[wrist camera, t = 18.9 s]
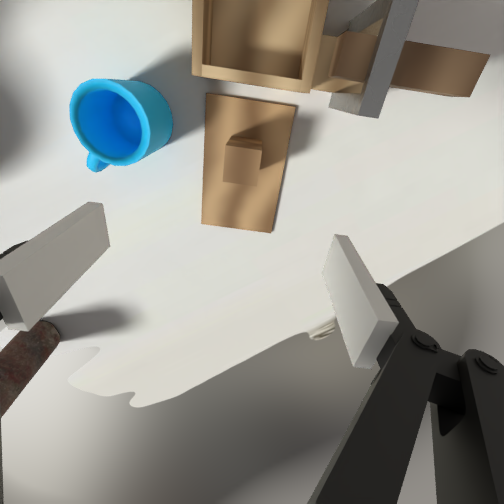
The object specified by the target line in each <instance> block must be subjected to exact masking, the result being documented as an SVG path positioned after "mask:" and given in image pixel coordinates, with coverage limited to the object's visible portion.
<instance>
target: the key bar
mask: <svg viewBox="0 0 504 504" xmlns="http://www.w3.org/2000/svg"><path fill="white" fill-rule="evenodd" d="M377 37H378V36H375V35H369V34H363V33H357V32H351V31H345V32H344V33H342V34H341V35H340V36H338V37H337V40H336V45H335V49H334V53H333V57H332V61H331V66H330V70H329V74H328V77H330V78H336V79H343V80H349V81H355V82H361V83H364V81H365V77H366V74H367V71H368V67H369V64H370V61H371V57H372V54H373V51H374V47H375V44H376V41H377ZM489 57H490V55H489V54H483V53H477V52H471V51H465V50H459V49H453V48H447V47H441V46H435V45H429V44H423V43H417V42H411V41H405V42H404V45H403V48H402V51H401V54H400V57H399V60H398V62H397V65H396V68H395V71H394V74H393V77H392V80H391V83H390V86H389V87H393V88H399V89H405V90H412V91H418V92H424V93H431V94H437V95H443V96H451V97H470V95H471V93H472V91H473V89H474V87H475V85H476V83H477V81H478V79H479V77H480V75H481V73H482V71H483V69H484V67H485V65H486V63H487V61H488V59H489Z"/></svg>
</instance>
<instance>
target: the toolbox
mask: <svg viewBox="0 0 504 504" xmlns="http://www.w3.org/2000/svg"><path fill="white" fill-rule="evenodd" d="M328 4H329V0H192V75H195V76H199V77H205V78H211V79H217V80H224V81H230V82H237V83H243V84H249V85H256V86H262V87H269V88H275V89H281V90H288V91H294V92H301V93H310V89H313V90H320V91H326V92H332V93H357V94H361V91H362V87H363V84H364V83H361V82H355V81H349V80H343V79H336V78H330V77H328V74H329V70H330V66H331V61H332V57H333V53H334V49H335V45H336V40H337V37H334V36H328V35H322V32H323V27H324V23H325V18H326V13H327V9H328Z"/></svg>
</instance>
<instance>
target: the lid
mask: <svg viewBox="0 0 504 504" xmlns="http://www.w3.org/2000/svg"><path fill="white" fill-rule="evenodd" d="M295 108H296V107H293V106H286V105H280V104H274V103H267V102H261V101H254V100H248V99H242V98H235V97H229V96H222V95H216V94H210V93H206V112H205V139H204V166H203V193H202V220H201V224H206V225H214V226H221V227H229V228H236V229H243V230H251V231H258V232H266V233H271V231H272V226H273V221H274V216H275V211H276V206H277V200H278V195H279V190H280V185H281V180H282V175H283V170H284V164H285V159H286V154H287V149H288V144H289V139H290V134H291V128H292V123H293V118H294V113H295Z"/></svg>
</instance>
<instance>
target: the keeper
mask: <svg viewBox="0 0 504 504" xmlns="http://www.w3.org/2000/svg"><path fill="white" fill-rule="evenodd" d="M418 2H419V0H377V1H376V2H374V3H373V4H372V5H371V6H369V7H368V8H367V9H365V10H364V11H363V12H362V13H360V14H359V15H358V16H357V17H355V18H354V19H353V20H351V21H350V24H349V28H348V31H351V32H357V33H363V34H369V35H375V36H377V35H378V37H377V41H376V44H375V47H374V51H373V54H372V57H371V61H370V64H369V67H368V71H367V74H366V77H365V81H364V84H363V87H362V91H361V94H357V93H332V96H331V100H330V104H329V108H332V109H336V110H340V111H344V112H347V113H351V114H355V115H359V116H365V117H372V118H379V115H380V112H381V109H382V106H383V103H384V100H385V97H386V94H387V92H388V89H389V86H390V83H391V80H392V77H393V74H394V71H395V68H396V65H397V62H398V60H399V57H400V54H401V51H402V48H403V45H404V42H405V39H406V36H407V33H408V31H409V28H410V25H411V22H412V19H413V16H414V13H415V10H416V7H417V4H418Z"/></svg>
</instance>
